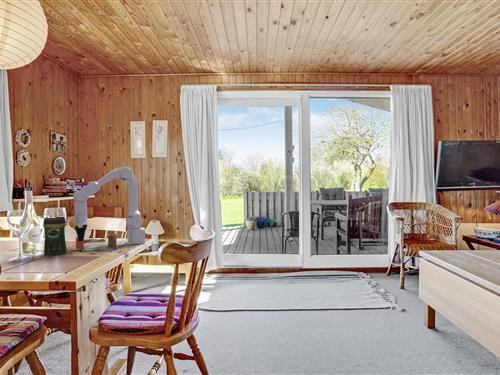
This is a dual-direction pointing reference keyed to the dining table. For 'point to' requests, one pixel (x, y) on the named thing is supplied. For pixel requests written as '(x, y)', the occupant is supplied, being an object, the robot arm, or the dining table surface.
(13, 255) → the dining table surface
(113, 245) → the eye bracket
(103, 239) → the hook bolt
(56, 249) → the coffee jar
